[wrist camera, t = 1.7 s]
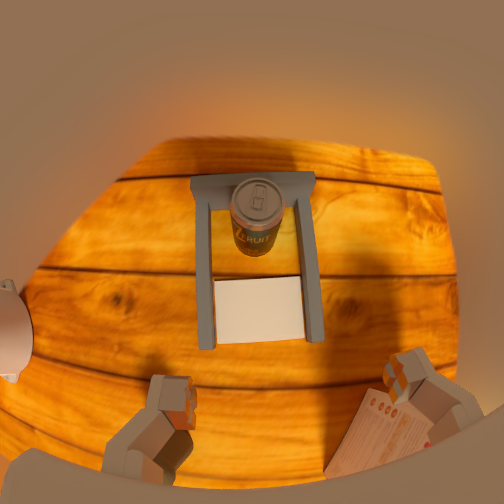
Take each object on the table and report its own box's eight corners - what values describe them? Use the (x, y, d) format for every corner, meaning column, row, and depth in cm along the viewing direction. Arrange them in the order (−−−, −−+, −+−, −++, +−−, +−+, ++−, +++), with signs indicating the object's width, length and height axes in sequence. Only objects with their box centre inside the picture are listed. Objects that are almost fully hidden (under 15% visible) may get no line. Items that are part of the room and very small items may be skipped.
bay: (203, 347, 33) (192, 353, 26) (199, 201, 38) (190, 176, 31) (318, 339, 34) (335, 343, 27) (303, 196, 39) (313, 171, 32)
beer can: (238, 216, 38) (235, 171, 26) (277, 223, 38) (290, 180, 26) (230, 254, 36) (223, 222, 25) (271, 261, 36) (282, 232, 25)
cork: (154, 417, 30) (123, 448, 20) (197, 431, 30) (179, 469, 19) (148, 450, 29) (119, 485, 18) (189, 464, 29) (171, 505, 18)
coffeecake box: (360, 478, 28) (418, 546, 9) (321, 473, 28) (367, 554, 10) (404, 396, 31) (497, 427, 13) (367, 386, 32) (458, 424, 13)
